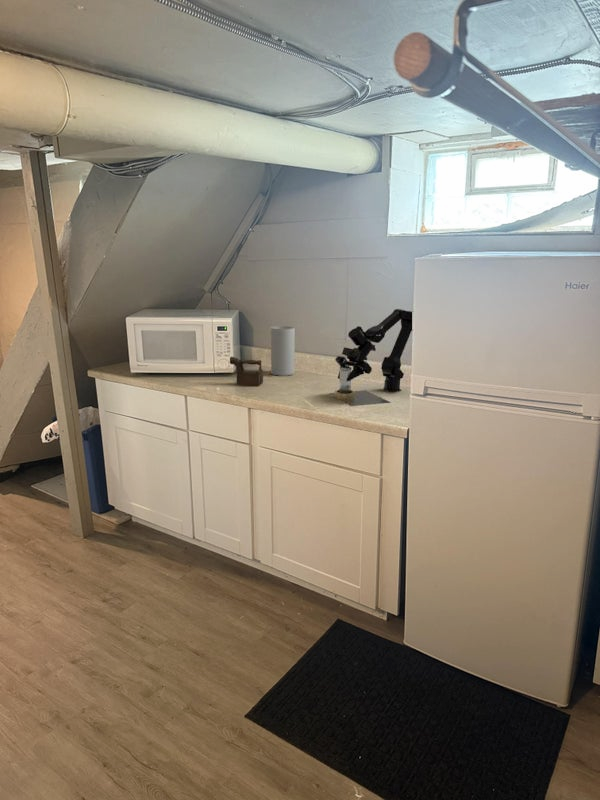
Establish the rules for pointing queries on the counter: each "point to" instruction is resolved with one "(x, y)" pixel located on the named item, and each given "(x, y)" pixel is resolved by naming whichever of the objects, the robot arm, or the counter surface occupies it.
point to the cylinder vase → (282, 350)
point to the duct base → (359, 398)
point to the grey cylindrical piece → (345, 380)
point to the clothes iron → (247, 372)
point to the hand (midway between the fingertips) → (342, 379)
